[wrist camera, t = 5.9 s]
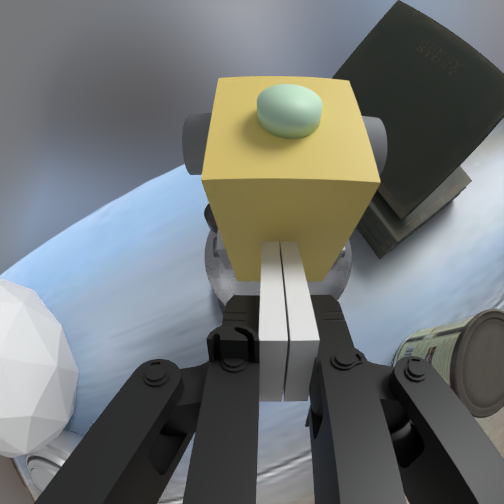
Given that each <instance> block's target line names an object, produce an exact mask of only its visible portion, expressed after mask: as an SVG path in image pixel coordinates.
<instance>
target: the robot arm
mask: <svg viewBox="0 0 504 504" xmlns="http://www.w3.org/2000/svg"><path fill="white" fill-rule="evenodd" d="M207 346H208V353H209V361H208V362H206V363H204V364H202V365H199V366H196V367H191V368H185V369H179V368H178V366H177V365H176V364H175V363H173V362H171V361H169V360H164V359H155V360H150V361H147V362H145V363H143V364H142V365H140V366H139V367H138V368H137V369H136V370H135V371H134V373H133V374H132V375H131V377H130V378H129V379H128V380H127V382H126V383H125V384H124V385H123V387H122V388H121V389H120V391H119V392H118V393H117V394H116V396H115V397H114V398H113V400H112V401H111V402H110V403H109V405H108V406H107V407H106V409H105V410H104V411H103V412H102V414H101V415H100V416H99V418H98V419H97V420H96V421H95V423H94V424H93V425H92V427H91V428H90V429H89V431H88V432H87V433H86V435H85V436H84V437H83V438H82V440H81V441H80V442H79V444H78V445H77V446H76V448H75V449H74V450H73V452H72V453H71V454H70V456H69V457H68V458H67V460H66V461H65V462H64V464H63V465H62V466H61V468H60V469H59V470H58V472H57V473H56V474H55V476H54V477H53V478H52V480H51V481H50V482H49V484H48V485H47V487H46V488H45V489H44V491H43V492H42V493H41V495H40V496H39V497H38V499H37V500H36V502H35V503H34V504H157V502H158V500H159V499H160V497H161V495H162V493H163V491H164V489H165V488H166V486H167V484H168V482H169V480H170V478H171V476H172V475H173V473H174V471H175V469H176V467H177V465H178V463H179V461H180V460H181V458H182V456H183V454H184V452H185V450H186V448H187V446H188V444H189V442H190V440H191V439H192V437H193V435H194V432H196V433H195V438H194V443H193V449H192V454H191V459H190V465H189V470H188V476H187V481H186V487H185V493H184V498H183V504H256V482H257V453H258V420H259V401H282V394H283V391H284V401H307V400H308V396H309V395H310V403H311V404H310V408H309V412H308V416H307V420H306V425H305V427H310V438H311V451H312V464H313V479H314V495H315V504H406V500H405V495H406V497H407V499H408V501H409V503H410V504H504V459H503V457H502V456H501V454H500V453H499V451H498V450H497V449H496V447H495V446H494V444H493V443H492V442H491V440H490V439H489V437H488V436H487V435H486V433H485V432H484V431H483V429H482V428H481V426H480V425H479V424H478V422H477V421H476V420H475V418H474V417H473V416H472V415H471V413H470V412H469V411H468V409H467V408H466V407H465V405H464V404H463V403H462V402H461V400H460V399H459V398H458V397H457V395H456V394H455V393H454V392H453V390H452V389H451V388H450V387H449V385H448V384H447V383H446V382H445V380H444V379H443V378H442V377H441V375H440V374H439V373H438V372H437V371H436V369H435V368H434V367H433V366H432V365H431V364H430V363H429V362H428V361H426V360H425V359H422V358H420V357H415V356H408V357H403V358H401V359H400V360H398V361H397V363H396V365H395V366H394V367H391V366H384V365H378V364H374V363H371V362H369V361H367V359H366V357H365V356H364V354H363V353H362V352H360V351H359V350H358V349H356V348H354V345H353V342H352V339H351V336H350V333H349V330H348V327H347V324H346V321H345V318H344V315H343V313H342V310H341V307H340V304H339V302H338V301H337V300H336V299H335V298H334V297H333V296H332V295H310V293H309V289H308V285H307V281H306V276H305V272H304V268H303V264H302V260H301V256H300V252H299V248H298V244H297V242H283V241H280V248H279V241H262V257H261V286H260V295H233V296H232V297H231V298H230V299H229V301H228V302H227V303H226V307H225V314H224V317H223V322H222V326H220V327H217V328H216V329H214V330H213V331H212V332H210V334H209V335H208V337H207ZM404 493H405V495H404Z"/></svg>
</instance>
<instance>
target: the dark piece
mask: <svg viewBox="0 0 504 504" xmlns="http://www.w3.org/2000/svg"><path fill="white" fill-rule="evenodd" d="M332 79H338V80H348V81H349V82H350V85H351V87H352V90H353V93H354V95H355V98H356V101H357V104H358V107H359V110H360V113H361V115H362V116H367V117H375V118H379V119H380V120H381V121H382V122H383V124H384V127H385V130H386V135H387V158H386V163H385V166H384V169H383V171H382V173H381V174H380V175H379V178H380V182H381V183H380V185H379V187H378V188H377V190H376V192H375V194H374V196H373V198H372V199H371V201H370V203H369V205H368V207H367V208H366V210H365V212H364V214H363V215H362V217H361V219H360V221H359V222H358V224H357V226H356V228H357V229H358V230H359V232H360V233H361V234H362V236H363V237H364V238H365V240H366V241H367V242H368V244H369V245H370V246H371V248H372V249H373V250H374V252H375V253H376V255H377V256H378V257H379V259H381V258H382V257H383V256H384V255H385V254H386V253H388V252H389V251H390V250H392V249H393V248H394V247H395V246H397V245H398V244H399V243H401V242H402V241H403V240H405V239H406V238H407V237H408V236H410V235H411V234H412V233H414V232H415V231H416V230H417V229H419V228H420V227H421V226H422V225H424V224H425V223H426V222H427V221H429V220H430V219H431V218H432V217H433V216H435V215H436V214H437V213H438V212H439V211H441V210H442V209H443V208H444V207H445V206H447V205H448V204H449V203H450V202H451V201H452V200H454V199H455V198H456V197H457V196H458V195H459V194H460V192H462V191H463V190H464V189H465V188H466V186H467V185H468V184H469V183H470V182H471V181H472V180H471V179H470V178H469V176H468V175H467V174H466V173H465V171H464V170H463V169H462V168H461V167H460V165H461V164H462V163H463V162H464V161H465V160H466V159H467V157H468V156H469V155H470V154H471V153H472V152H473V151H474V150H475V149H476V148H477V147H478V146H479V145H480V144H481V142H482V141H483V140H484V139H485V138H486V137H487V136H488V135H489V134H490V132H491V131H492V130H493V129H494V128H495V127H496V126H497V125H498V123H499V122H500V121H501V120H502V119H503V118H504V73H502V72H501V71H500V70H499V69H498V68H497V67H496V66H495V65H494V64H493V63H491V62H490V61H489V60H488V59H487V58H485V57H484V56H483V55H482V54H481V53H479V52H478V51H477V50H476V49H474V48H473V47H472V46H471V45H469V44H468V43H467V42H465V41H464V40H462V39H461V38H460V37H458V36H457V35H455V34H454V33H453V32H451V31H450V30H448V29H447V28H445V27H444V26H442V25H441V24H439V23H438V22H436V21H434V20H433V19H431V18H430V17H428V16H427V15H425V14H423V13H421V12H420V11H418V10H416V9H414V8H413V7H411V6H409V5H407V4H405V3H403V2H401V1H399V0H398V1H397V2H396V3H395V4H394V5H393V6H392V8H391V9H390V10H389V11H388V12H387V13H386V14H385V15H384V17H383V18H382V19H381V20H380V21H379V22H378V24H377V25H376V26H375V27H374V28H373V29H372V30H371V32H370V33H369V34H368V35H367V36H366V37H365V39H364V40H363V41H362V42H361V44H360V45H359V46H358V47H357V48H356V49H355V51H354V52H353V53H352V54H351V55H350V57H349V58H348V59H347V60H346V62H345V63H344V64H343V65H342V66H341V68H340V69H339V70H338V71H337V73H336V74H335V75H334V76H333V78H332Z"/></svg>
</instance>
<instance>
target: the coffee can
mask: <svg viewBox="0 0 504 504" xmlns="http://www.w3.org/2000/svg"><path fill="white" fill-rule="evenodd" d="M408 356H415V357H420V358H422V359H425V360H426V361H428V362H429V363H430V364H431V365H432V366H433V367H434V368H435V369H436V371H437V372H438V373H439V374H440V375H441V377H442V378H443V379H444V380H445V382H446V383H447V384H448V385H449V387H450V388H451V389H452V390H453V392H454V393H455V394H456V395H457V397H458V398H459V399H460V400H461V402H462V403H463V404H464V405H465V407H466V408H467V409H468V411H469V412H470V413H471V415H472V416H473V417H477V418H485V417H488V416H491V415H493V414H494V413H496V412H497V411H499V410H500V409H501V408H502V407H503V406H504V312H503V311H501V310H498V309H489V310H485V311H483V312H480V313H479V314H477V315H475V316H472V317H468V318H465V319H462V320H458V321H455V322H451V323H448V324H444V325H441V326H437V327H433V328H429V329H422V330H418V331H416V332H414V333H412V334H411V335H410V336H408V337H407V338H406V339H405V340H404V341H403V343H402V344H401V345H400V347H399V349H398V351H397V353H396V356H395V359H394V363H393V367H394V366H395V365H396V363H397V361H398V360H400V359H401V358H403V357H408Z"/></svg>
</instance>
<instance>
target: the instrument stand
mask: <svg viewBox="0 0 504 504" xmlns="http://www.w3.org/2000/svg"><path fill="white" fill-rule="evenodd" d="M204 216H205V219H206V221H207V223H208V226H209V228H210V229H211V230H210V233H209V235H208V238H207V242H206V248H205V266H206V272H207V276H208V279H209V282H210V284H211V286H212V288H213V290H214V292H215V293H216V295H217V296H218V301H219V305H220V308H221V310H222V313H223V315H224V314H225V307H226V303H227V302H228V301H229V299H230V298H231V297H232V296H233V295H260V286H261V282H259V281H237V279H236V276H235V273H234V271H233V268H232V265H231V262H230V260H229V257H228V254H227V251H226V249H225V246H224V243H223V240H222V238H221V235H220V232H219V229H218V226H217V224H216V221H215V218H214V215H213V212H212V210H211V207H210V204H208V205H207V207H206V208H205V212H204ZM351 265H352V251H351V245H350V241H349V240H348V241H347V243H346V245H345V246H344V248H343V250H342V251H341V253H340V254H339V256H338V258H337V259H336V261H335V263H334V264H333V266H332V267H331V269H330V271H329V272H328V274H327V275H326V277H325V279H324V280H323V281H320V282H307V285H308V289H309V293H310V295H332V296H333V297H334V298H335V299H336V300H338V298H339V297H340V296H341V294H342V292H343V291H344V289H345V287H346V284H347V282H348V280H349V276H350V272H351Z"/></svg>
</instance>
